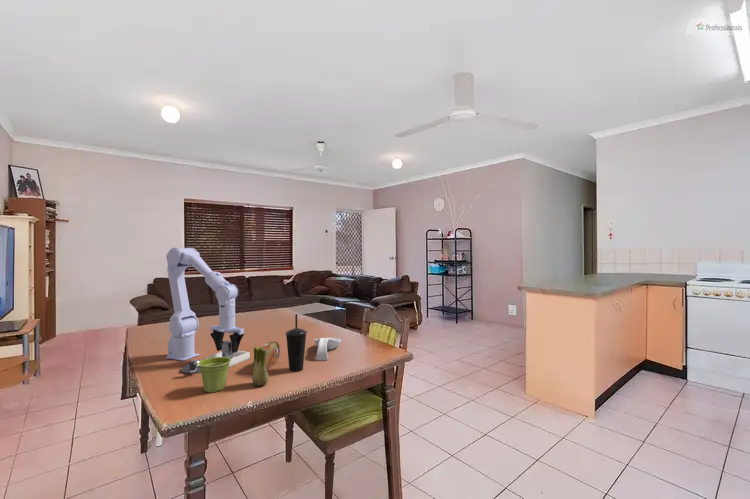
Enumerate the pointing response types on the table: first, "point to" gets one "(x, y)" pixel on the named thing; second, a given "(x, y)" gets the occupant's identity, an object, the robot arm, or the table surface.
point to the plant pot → (214, 373)
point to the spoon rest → (325, 347)
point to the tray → (236, 359)
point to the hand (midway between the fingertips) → (227, 351)
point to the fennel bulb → (259, 367)
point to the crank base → (187, 371)
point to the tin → (271, 353)
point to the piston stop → (227, 349)
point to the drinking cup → (296, 347)
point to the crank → (193, 365)
